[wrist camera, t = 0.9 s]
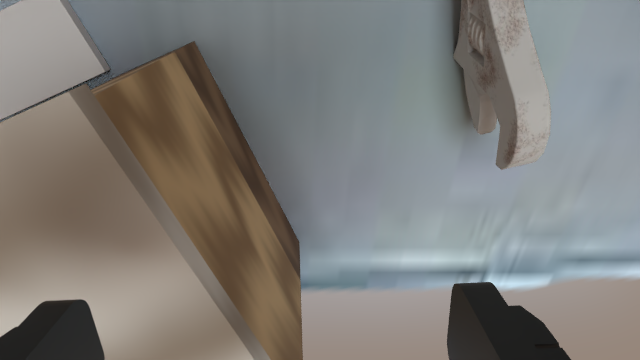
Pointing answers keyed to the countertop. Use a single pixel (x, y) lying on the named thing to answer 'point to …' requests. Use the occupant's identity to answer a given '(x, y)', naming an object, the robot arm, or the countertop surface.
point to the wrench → (504, 78)
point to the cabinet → (148, 220)
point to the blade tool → (43, 53)
